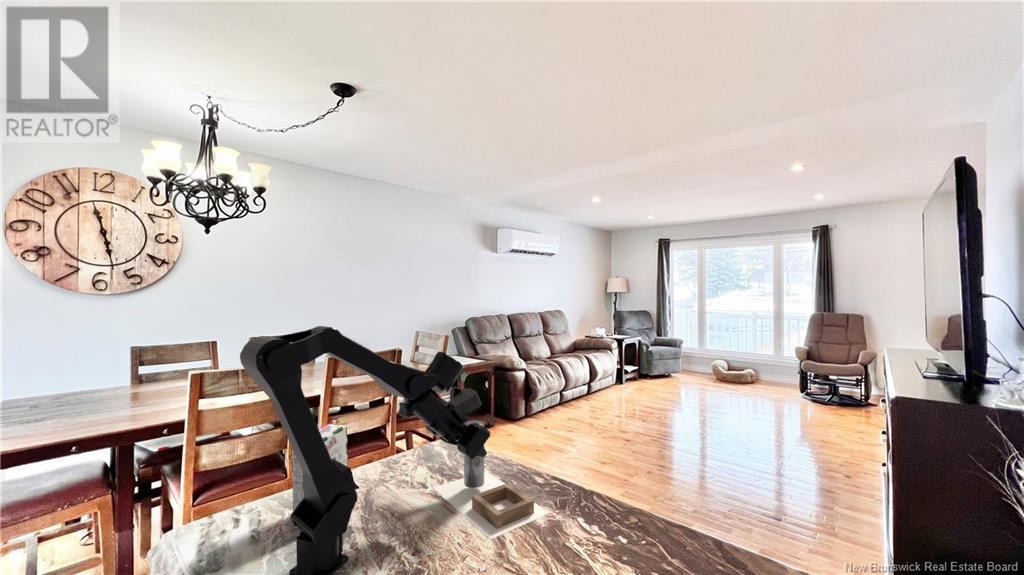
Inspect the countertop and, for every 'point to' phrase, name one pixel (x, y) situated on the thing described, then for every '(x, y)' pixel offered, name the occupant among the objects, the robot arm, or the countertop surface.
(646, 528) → the countertop surface
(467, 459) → the grey tall rounded cylinder
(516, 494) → the square wooden frame
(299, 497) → the candy bar box
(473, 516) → the board
